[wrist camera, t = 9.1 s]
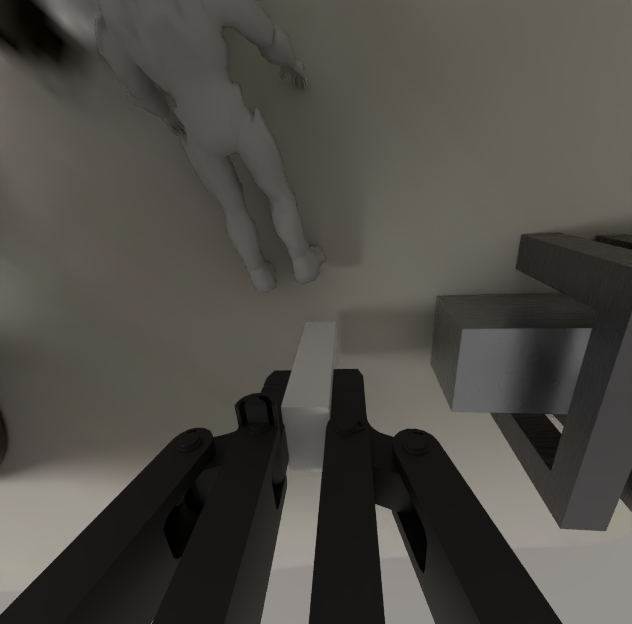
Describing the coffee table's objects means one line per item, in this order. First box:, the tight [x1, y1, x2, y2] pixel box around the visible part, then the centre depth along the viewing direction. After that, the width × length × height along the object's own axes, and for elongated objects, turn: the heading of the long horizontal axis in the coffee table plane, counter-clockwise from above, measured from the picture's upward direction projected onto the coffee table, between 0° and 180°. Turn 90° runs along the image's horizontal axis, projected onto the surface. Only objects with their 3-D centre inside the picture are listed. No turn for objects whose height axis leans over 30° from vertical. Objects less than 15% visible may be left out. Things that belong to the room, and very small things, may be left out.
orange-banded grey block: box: [431, 293, 597, 414], centre depth 14 cm, size 14×4×4 cm, turn 93°
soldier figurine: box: [95, 0, 326, 294], centre depth 12 cm, size 6×5×12 cm
